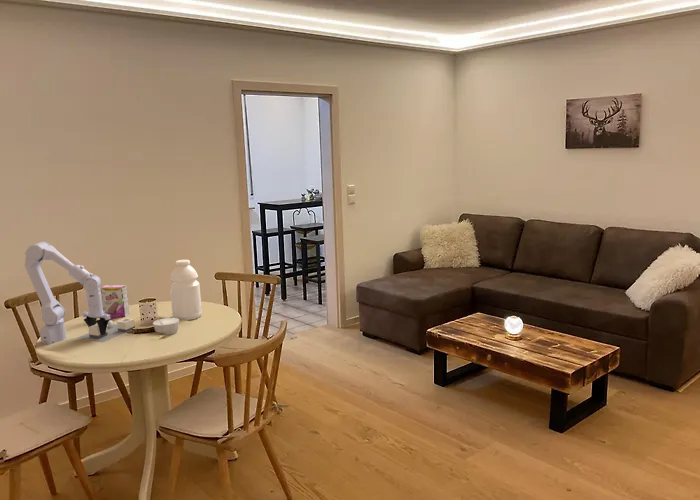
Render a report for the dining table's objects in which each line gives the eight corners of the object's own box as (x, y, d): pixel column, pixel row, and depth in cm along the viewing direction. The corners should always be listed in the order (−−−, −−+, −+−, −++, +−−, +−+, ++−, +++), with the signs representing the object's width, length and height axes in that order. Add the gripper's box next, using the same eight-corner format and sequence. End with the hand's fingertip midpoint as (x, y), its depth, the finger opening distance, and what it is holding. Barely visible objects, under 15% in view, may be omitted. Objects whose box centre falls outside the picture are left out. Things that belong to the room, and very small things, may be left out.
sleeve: (98, 338, 246) (96, 328, 245) (89, 336, 248) (88, 327, 247) (107, 334, 250) (106, 324, 250) (99, 333, 253) (98, 323, 252)
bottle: (178, 323, 269) (173, 265, 264) (168, 316, 280) (163, 260, 275) (206, 316, 277) (202, 260, 272) (196, 310, 288) (191, 256, 283)
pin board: (103, 345, 242) (102, 335, 241) (76, 341, 248) (75, 331, 248) (138, 330, 259) (137, 321, 259) (112, 327, 266) (111, 318, 265)
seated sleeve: (126, 332, 253) (125, 322, 253) (117, 330, 256) (116, 321, 255) (135, 328, 258) (134, 319, 257) (126, 327, 260) (125, 317, 259)
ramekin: (148, 334, 254) (147, 323, 253) (167, 327, 264) (166, 316, 263) (166, 337, 249) (165, 326, 248) (185, 330, 259) (184, 319, 258)
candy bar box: (103, 320, 278) (99, 287, 275) (109, 317, 283) (105, 285, 280) (125, 320, 277) (121, 287, 274) (130, 317, 282) (126, 284, 279)
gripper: (114, 302, 247) (117, 332, 249) (90, 299, 253) (94, 329, 256) (101, 307, 241) (104, 337, 243) (77, 304, 247) (80, 334, 249)
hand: (98, 333), depth 249 cm, fingers closed on sleeve, 5 cm apart
